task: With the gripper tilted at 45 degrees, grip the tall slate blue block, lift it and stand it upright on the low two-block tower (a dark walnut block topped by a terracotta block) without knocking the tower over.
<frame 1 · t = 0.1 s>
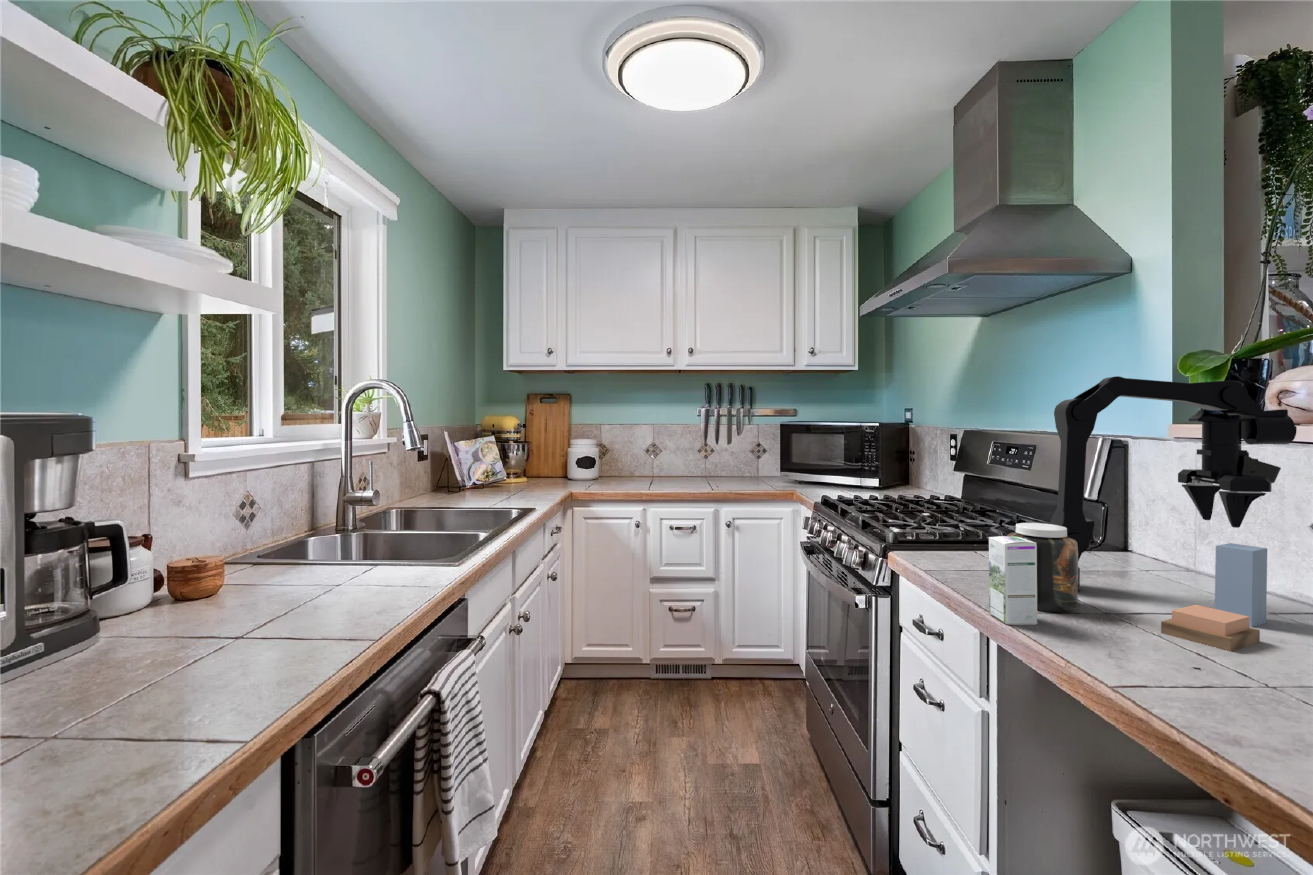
hand: (1220, 523, 120), 15 cm above the counter, tool pointing down, fingers open, 9 cm apart
walnut block: (1209, 640, 98), on the counter, touching terracotta block
terracotta block: (1209, 625, 98), point 2 cm above the counter, touching walnut block
slate blue block: (1240, 620, 106), on the counter
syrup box: (1012, 620, 108), on the counter
jar: (1040, 604, 117), on the counter
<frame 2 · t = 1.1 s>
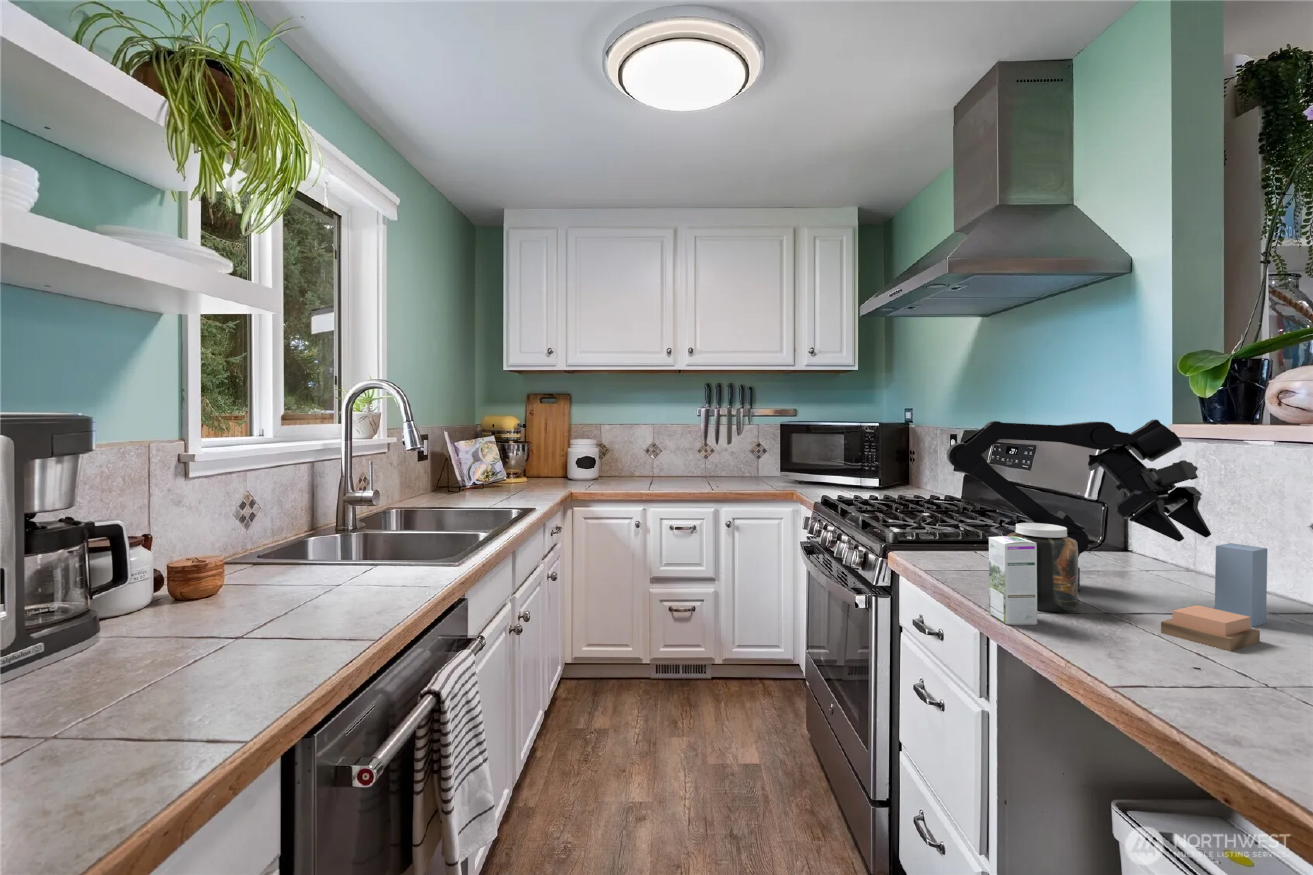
hand: (1195, 538, 112), 13 cm above the counter, tool tilted 45°, fingers open, 9 cm apart
nothing on the counter moved.
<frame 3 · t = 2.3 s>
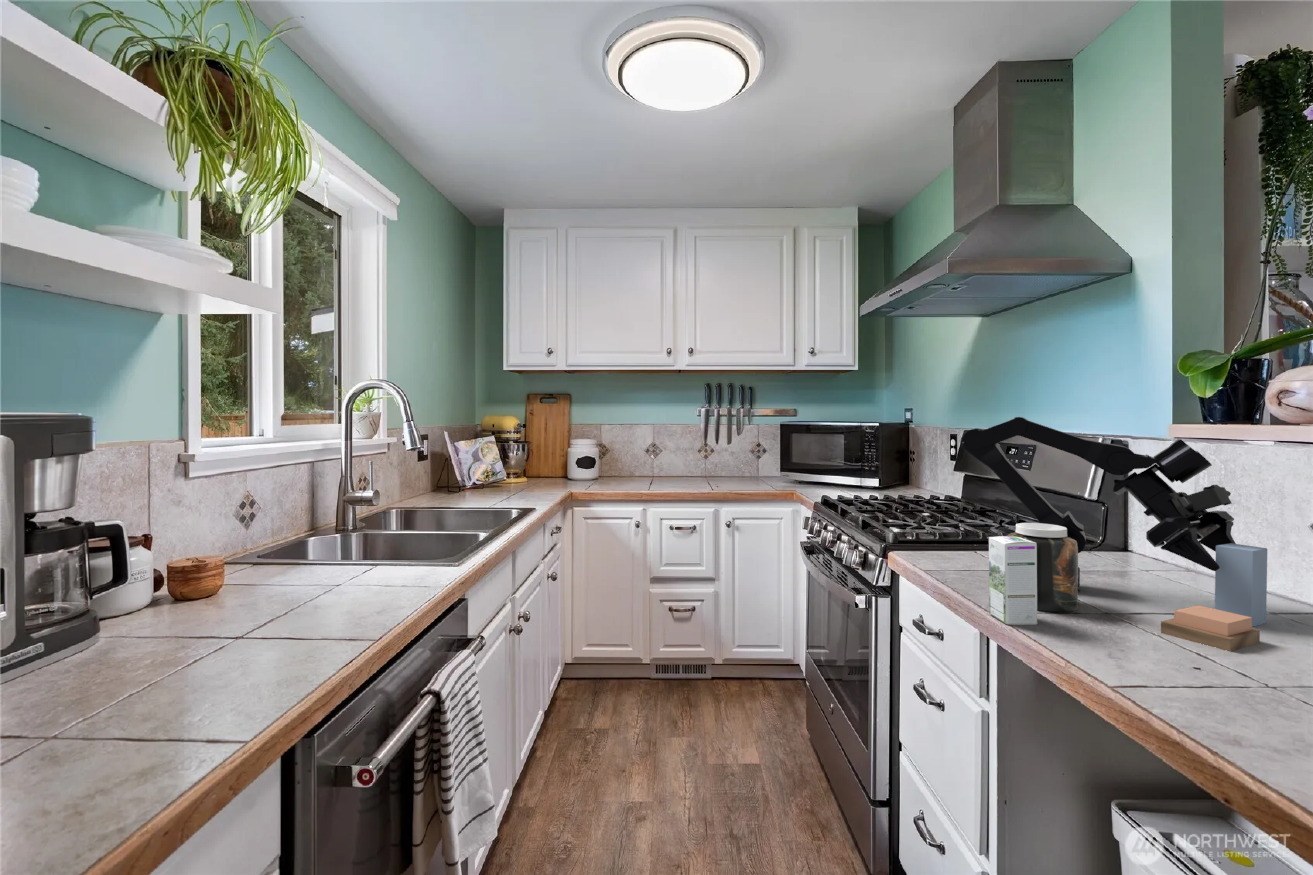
hand: (1230, 566, 107), 9 cm above the counter, tool tilted 45°, fingers open, 9 cm apart
nothing on the counter moved.
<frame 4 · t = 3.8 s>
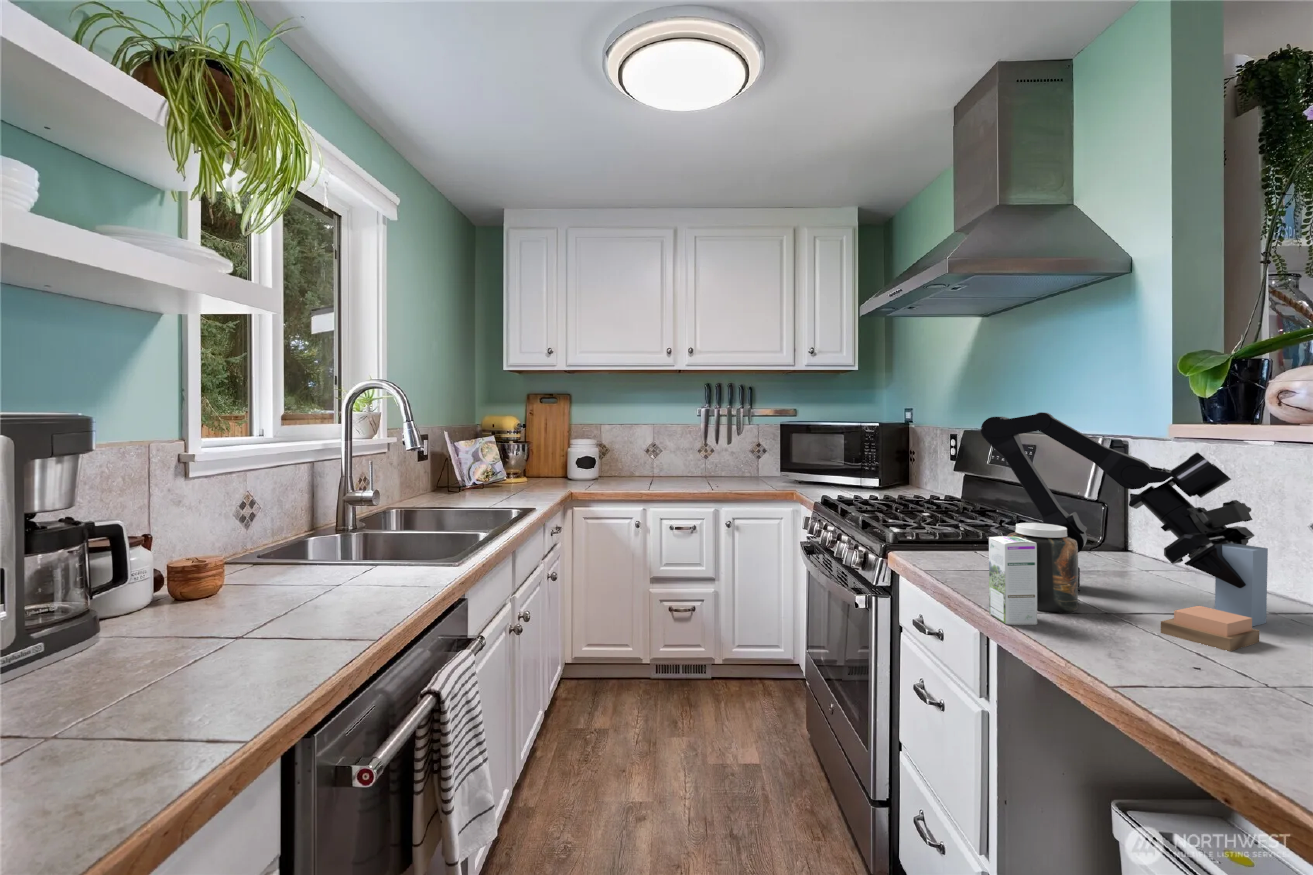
hand: (1251, 584, 105), 7 cm above the counter, tool tilted 45°, fingers closed on slate blue block, 5 cm apart
slate blue block: (1240, 620, 106), on the counter, touching gripper
everything else where it was.
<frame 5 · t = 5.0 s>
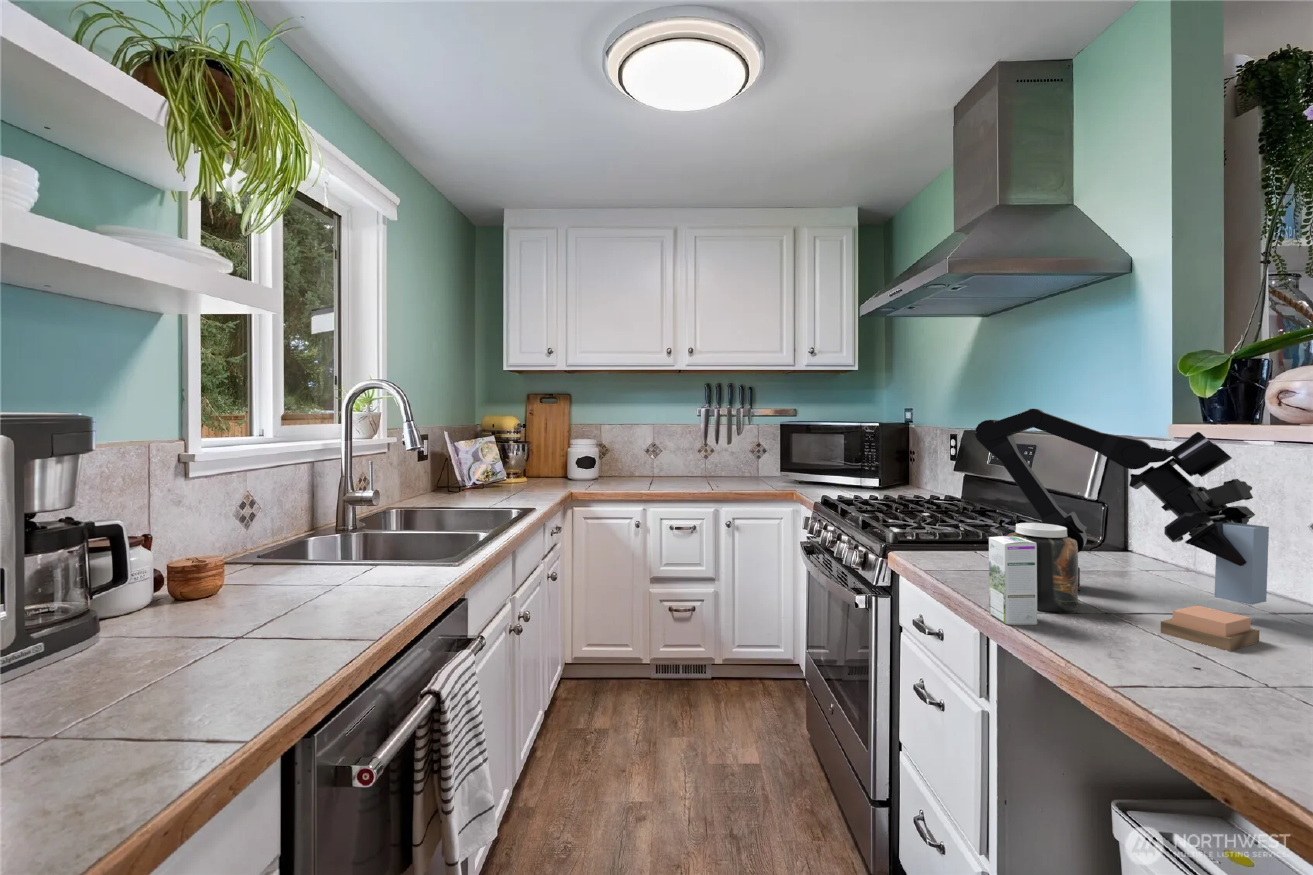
hand: (1251, 562, 104), 10 cm above the counter, tool tilted 45°, fingers closed on slate blue block, 5 cm apart
slate blue block: (1240, 599, 106), point 4 cm above the counter, touching gripper
everything else where it was.
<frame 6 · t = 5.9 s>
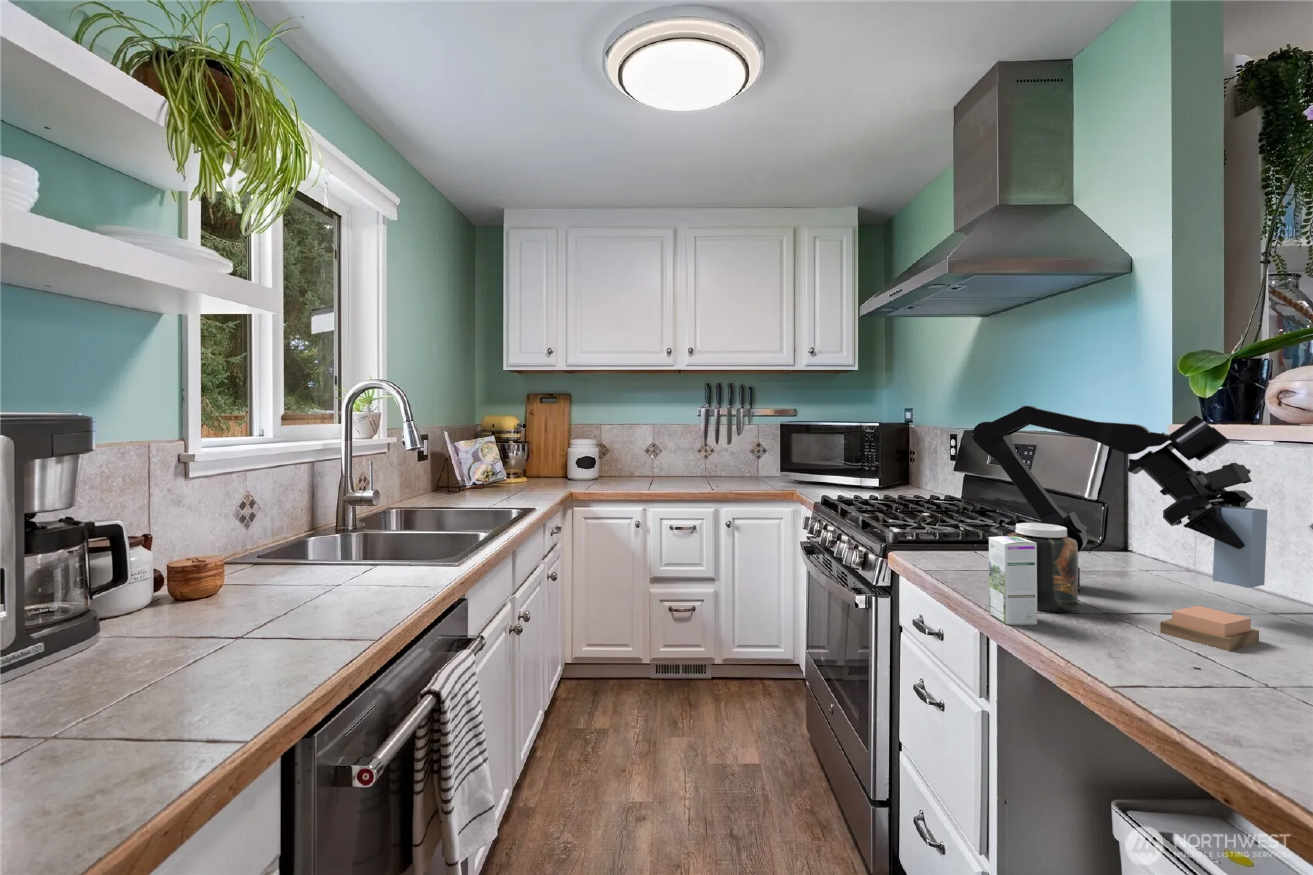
hand: (1250, 546, 104), 13 cm above the counter, tool tilted 45°, fingers closed on slate blue block, 5 cm apart
slate blue block: (1238, 582, 106), point 7 cm above the counter, touching gripper
everything else where it was.
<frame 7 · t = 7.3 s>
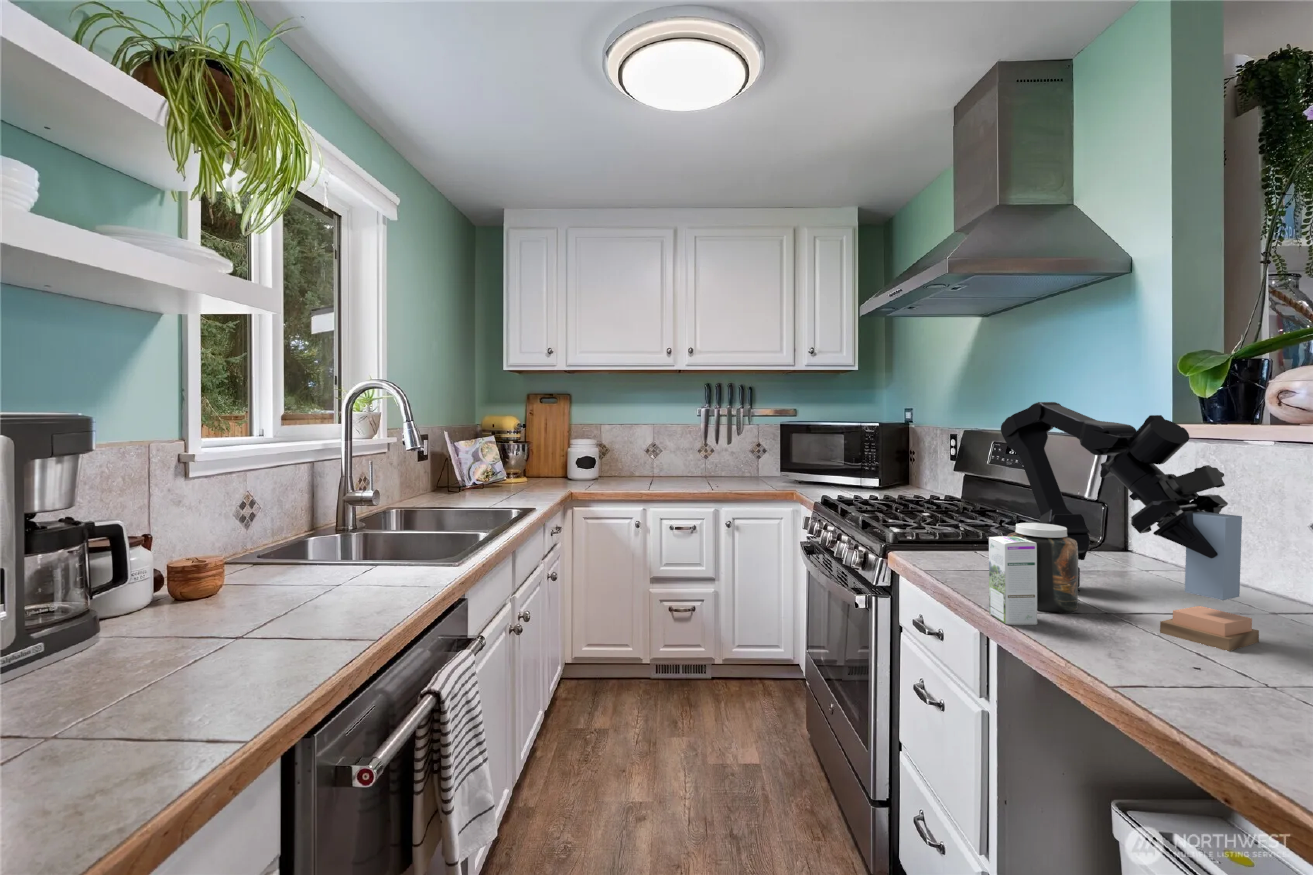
hand: (1223, 555, 97), 14 cm above the counter, tool tilted 45°, fingers closed on slate blue block, 5 cm apart
slate blue block: (1211, 594, 98), point 7 cm above the counter, touching gripper
everything else where it was.
when the fingers open (12 cm above the counter, at t = 8.3 s): slate blue block drops 1 cm, resting on terracotta block.
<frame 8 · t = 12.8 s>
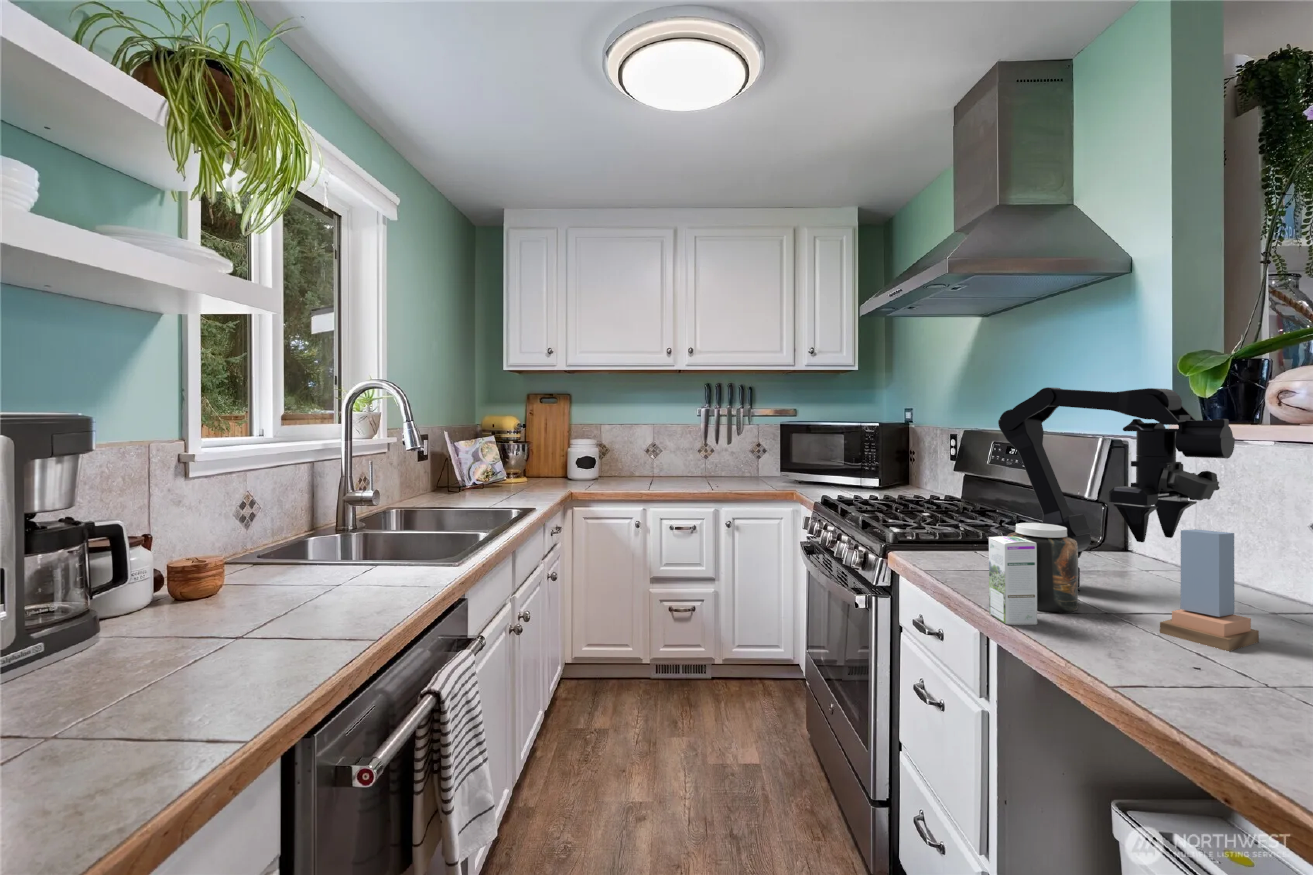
hand: (1154, 539, 113), 13 cm above the counter, tool pointing down, fingers open, 9 cm apart
terracotta block: (1210, 626, 98), point 2 cm above the counter, touching slate blue block, walnut block
slate blue block: (1207, 611, 99), point 4 cm above the counter, touching terracotta block
everything else where it was.
at the end: slate blue block 1.0 cm off-centre on the walnut block, point 4.6 cm above the walnut block's base; slate blue block tilted 2°; terracotta block 0.2 cm off-centre on the walnut block, point 2.5 cm above the walnut block's base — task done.
